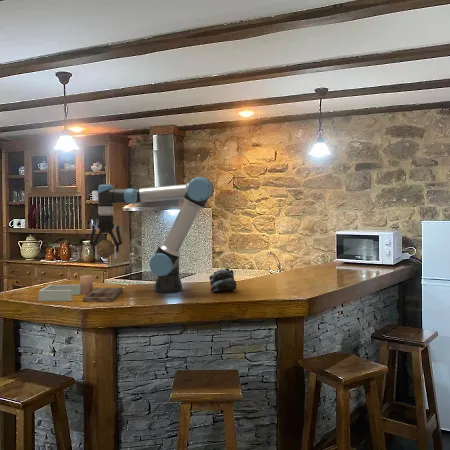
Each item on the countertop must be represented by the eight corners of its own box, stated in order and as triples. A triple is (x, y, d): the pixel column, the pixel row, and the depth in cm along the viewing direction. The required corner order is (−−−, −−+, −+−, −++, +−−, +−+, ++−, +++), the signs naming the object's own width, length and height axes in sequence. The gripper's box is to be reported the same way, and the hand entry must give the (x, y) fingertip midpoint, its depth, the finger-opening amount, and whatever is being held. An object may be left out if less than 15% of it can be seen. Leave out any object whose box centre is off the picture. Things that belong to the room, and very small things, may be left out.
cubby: (80, 294, 246) (80, 284, 246) (71, 301, 230) (71, 290, 230) (50, 294, 246) (50, 284, 245) (38, 301, 230) (38, 290, 229)
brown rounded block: (94, 291, 253) (94, 275, 253) (91, 294, 247) (91, 276, 246) (82, 291, 253) (82, 275, 253) (78, 294, 247) (78, 276, 246)
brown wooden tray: (122, 291, 254) (122, 287, 254) (112, 301, 228) (112, 297, 228) (96, 291, 254) (96, 287, 254) (82, 301, 228) (82, 297, 228)
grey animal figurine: (206, 293, 250) (203, 268, 256) (215, 298, 261) (211, 274, 267) (233, 286, 246) (229, 261, 252) (240, 291, 257) (236, 267, 263)
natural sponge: (117, 257, 250) (117, 238, 250) (111, 260, 241) (111, 240, 241) (100, 257, 251) (100, 238, 250) (94, 259, 242) (94, 240, 242)
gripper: (128, 214, 249) (128, 257, 250) (86, 214, 248) (86, 257, 250) (125, 215, 241) (125, 259, 243) (82, 214, 241) (82, 259, 242)
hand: (106, 258), depth 246 cm, fingers closed on natural sponge, 9 cm apart
